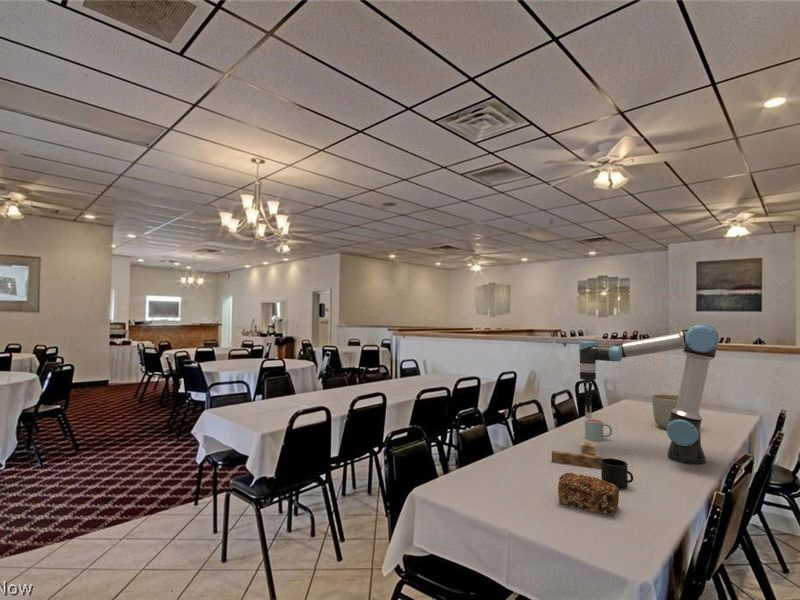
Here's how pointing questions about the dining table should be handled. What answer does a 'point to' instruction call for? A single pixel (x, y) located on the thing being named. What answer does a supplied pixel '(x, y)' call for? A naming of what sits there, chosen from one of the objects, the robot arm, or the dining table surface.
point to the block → (588, 448)
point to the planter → (663, 408)
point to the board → (577, 459)
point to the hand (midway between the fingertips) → (588, 418)
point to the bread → (588, 493)
